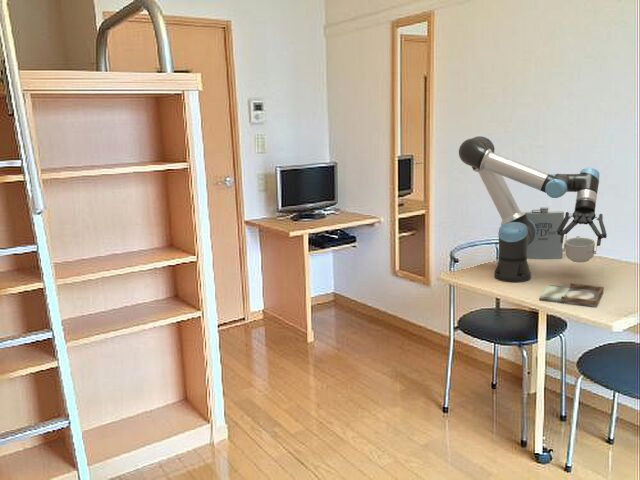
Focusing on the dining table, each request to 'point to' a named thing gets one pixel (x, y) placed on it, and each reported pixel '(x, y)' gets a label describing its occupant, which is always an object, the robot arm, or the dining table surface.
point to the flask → (545, 234)
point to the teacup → (579, 249)
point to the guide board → (573, 294)
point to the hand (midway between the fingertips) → (578, 251)
